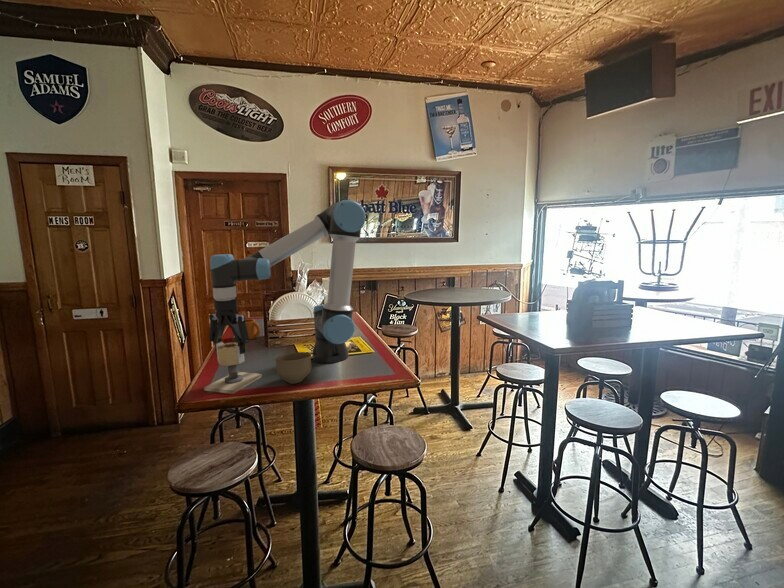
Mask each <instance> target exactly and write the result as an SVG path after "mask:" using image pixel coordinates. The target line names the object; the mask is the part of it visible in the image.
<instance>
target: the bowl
mask: <svg viewBox="0 0 784 588" xmlns="http://www.w3.org/2000/svg"><path fill="white" fill-rule="evenodd" d="M311 357H312V353H311V352H305V351H304V352H303V351H299V352H298V351H297V352H288V353H283V354H280V355H277V356H276V357H275V358H274V360H275V364H276V365H275V366H276V373H277V375H278V376H279V378H281V379H283V380H284V381H286V382H287V383H288V384H292V385H294V384H300V383H301V382H303V381H304V380H305V378H306V377H307V376H308V375H309V374H310V373H311V371H312V368H313V367H312V358H311Z"/></svg>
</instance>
